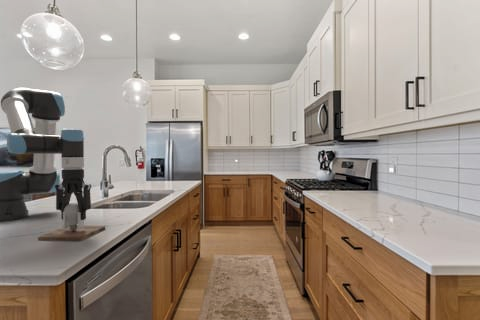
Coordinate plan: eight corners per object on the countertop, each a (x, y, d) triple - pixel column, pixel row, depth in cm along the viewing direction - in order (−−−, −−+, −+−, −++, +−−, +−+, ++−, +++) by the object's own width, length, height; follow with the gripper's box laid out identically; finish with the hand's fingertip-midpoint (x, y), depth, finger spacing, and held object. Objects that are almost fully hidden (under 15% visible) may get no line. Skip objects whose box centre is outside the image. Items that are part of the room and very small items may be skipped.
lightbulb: (86, 229, 109) (85, 202, 109) (72, 233, 104) (71, 204, 103) (74, 228, 111) (74, 201, 111) (60, 232, 106) (59, 204, 105)
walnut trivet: (69, 228, 116) (69, 225, 116) (105, 229, 115) (105, 226, 115) (38, 239, 100) (38, 236, 100) (79, 241, 99) (79, 237, 99)
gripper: (43, 169, 104) (44, 230, 105) (89, 169, 102) (89, 231, 103) (58, 168, 112) (59, 225, 112) (101, 168, 110) (101, 225, 110)
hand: (73, 227), depth 107 cm, fingers closed on lightbulb, 5 cm apart
